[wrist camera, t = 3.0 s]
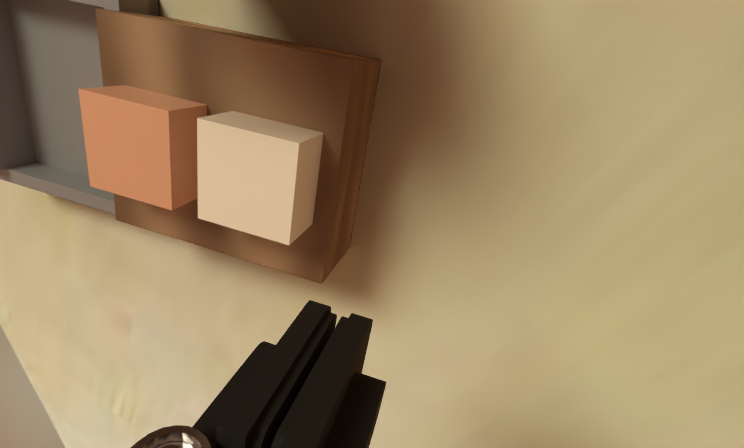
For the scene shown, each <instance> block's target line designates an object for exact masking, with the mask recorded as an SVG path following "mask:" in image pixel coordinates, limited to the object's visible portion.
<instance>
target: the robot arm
mask: <svg viewBox="0 0 744 448" xmlns="http://www.w3.org/2000/svg"><path fill="white" fill-rule="evenodd" d="M336 318H337V315H336V314H333V313H331V307H330V306H327V305H324V304H321V303H317V302H314V301H311V300H310V301H308V303H307V304H306V305H305V306H304V308H303V309H302V311H301V312H300V313H299V315H298V316H297V317H296V319H295V320H294V321H293V323H292V324H291V325H290V327H289V328H288V329H287V331H286V332H285V334H284V335H283V336H282V338H281V339H280V340H279V342H278V343H277V344H276V345H274V344H271V343H268V342H265V341H264V342H262V343H260V344H259V345H258V346H257V347H256V348H255V350H254V351H253V352H252V353H251V355H250V356H249V357H248V358H247V360H246V361H245V362H244V363H243V365H242V366H241V367H240V368H239V370H238V371H237V372H236V373H235V375H234V376H233V377H232V378H231V380H230V381H229V382H228V383H227V385H226V386H225V387H224V388H223V390H222V391H221V392H220V393H219V395H218V396H217V397H216V398H215V400H214V401H213V402H212V403H211V405H210V406H209V407H208V408H207V410H206V411H205V412H204V413H203V415H202V416H201V417H200V418H199V420H198V421H197V422H196V423H195V424H194V426H193V427H189V426H177V425H176V426H170V427H165V428H161V429H159V430H157V431H154V432H152V433H150V434H148V435H147V436H145V437H144V438H142V439H141V440H140V441H138V442H137V443H136V444H135V445H133V446H132V447H131V448H369V445H370V441H371V438H372V434H373V431H374V427H375V424H376V420H377V417H378V413H379V409H380V405H381V402H382V398H383V394H384V390H385V386H386V382H385V381H382V380H379V379H376V378H373V377H370V376H367V375H364V374H361V373H362V369H363V364H364V360H365V355H366V350H367V346H368V341H369V337H370V332H371V327H372V322H373V320H372V319H369V318H366V317H363V316H359V315H356V314H353V313H352V314H351V315H350V317H349V318H346V317H343V316H342V317H341V319H340V321H339V322H338V324H337V326H336V328H335V325H336Z"/></svg>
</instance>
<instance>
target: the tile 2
mask: <svg viewBox="0 0 744 448" xmlns="http://www.w3.org/2000/svg"><path fill="white" fill-rule="evenodd" d="M323 134H324V133H322V132H318V131H314V130H310V129H306V128H302V127H297V126H293V125H289V124H285V123H281V122H277V121H272V120H268V119H264V118H260V117H256V116H252V115H248V114H243V113H239V112H235V111H230V112H225V113H220V114H215V115H210V116H205V117H200V118H197V171H198V218H199V219H202V220H205V221H209V222H212V223H215V224H219V225H222V226H226V227H229V228H232V229H236V230H239V231H242V232H246V233H249V234H252V235H256V236H259V237H262V238H266V239H269V240H273V241H276V242H279V243H283V244H286V245H290V244H291V243H292V242H293V241H294V240H296V239H297V238H298V237H299V236H300V235H301V234H302V233H303V232H304V231H305V230H307V229H308V228H309V227H310V226H311V225H312V223H313V214H314V206H315V198H316V190H317V182H318V174H319V166H320V158H321V150H322V142H323Z"/></svg>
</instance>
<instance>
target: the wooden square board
mask: <svg viewBox="0 0 744 448" xmlns="http://www.w3.org/2000/svg"><path fill="white" fill-rule="evenodd" d="M95 10H96V20H97V30H98V40H99V50H100V61H101V71H102V81H103V87H106V86H120V85H127V86H131V87H135V88H140V89H144V90H148V91H152V92H156V93H160V94H164V95H169V96H173V97H177V98H181V99H185V100H189V101H194V102H198V103H202V104H206V105H207V116H210V115H215V114H220V113H225V112H230V111H235V112H239V113H243V114H248V115H252V116H256V117H260V118H264V119H268V120H272V121H277V122H281V123H285V124H289V125H293V126H297V127H302V128H306V129H310V130H314V131H318V132H322V133H324V134H323V142H322V150H321V158H320V166H319V174H318V182H317V190H316V198H315V206H314V214H313V223H312V225H311V226H310V227H309V228H308V229H307V230H305V231H304V232H303V233H302V234H301V235H300V236H299V237H298V238H297V239H296V240H294V241H293V242H292V243H291V244H290V245H286V244H283V243H279V242H276V241H273V240H269V239H266V238H262V237H259V236H256V235H252V234H249V233H246V232H242V231H239V230H236V229H232V228H229V227H226V226H222V225H219V224H215V223H212V222H209V221H205V220H202V219H199V218H198V198H197V199H195V200H193V201H191V202H189V203H187V204H185V205H183V206H180V207H178V208H176V209H174V210H168V209H165V208H162V207H158V206H155V205H152V204H148V203H145V202H142V201H138V200H135V199H132V198H128V197H125V196H121V195H118V194H115V193H114V204H115V214H116V220H119V221H122V222H125V223H128V224H131V225H135V226H138V227H141V228H144V229H148V230H151V231H154V232H157V233H160V234H164V235H167V236H170V237H173V238H176V239H180V240H183V241H186V242H189V243H193V244H196V245H199V246H202V247H205V248H209V249H212V250H215V251H218V252H221V253H225V254H228V255H231V256H234V257H238V258H241V259H244V260H247V261H250V262H254V263H257V264H260V265H263V266H267V267H270V268H273V269H276V270H279V271H283V272H286V273H289V274H292V275H295V276H299V277H302V278H305V279H308V280H312V281H315V282H318V283H321V284H322V283H323V281H324V280H325V279H326V277H327V276H328V275H329V273H330V272H331V271H332V270H333V268H334V267H335V266H336V264H337V263H338V262H339V260H340V259H341V258H342V256H343V255H344V254H345V252H346V251H347V250H348V249H349V246H350V241H351V235H352V229H353V223H354V217H355V211H356V205H357V199H358V193H359V188H360V182H361V176H362V170H363V164H364V158H365V152H366V146H367V141H368V135H369V129H370V123H371V117H372V111H373V105H374V99H375V94H376V88H377V82H378V76H379V70H380V64H381V60H376V59H371V58H366V57H361V56H356V55H351V54H346V53H341V52H336V51H331V50H327V49H322V48H317V47H312V46H307V45H302V44H297V43H292V42H287V41H282V40H277V39H272V38H267V37H262V36H257V35H252V34H247V33H242V32H237V31H232V30H227V29H222V28H217V27H212V26H208V25H203V24H198V23H193V22H188V21H183V20H178V19H173V18H168V17H161V16H153V15H146V14H138V13H130V12H122V11H114V10H106V9H98V8H95Z"/></svg>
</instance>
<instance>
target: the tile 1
mask: <svg viewBox="0 0 744 448" xmlns="http://www.w3.org/2000/svg"><path fill="white" fill-rule="evenodd" d="M78 90H79V98H80V107H81V115H82V123H83V131H84V139H85V148H86V156H87V164H88V172H89V180H90V186H91V187H95V188H98V189H101V190H105V191H108V192H111V193H115V194H118V195H121V196H125V197H128V198H132V199H135V200H138V201H142V202H145V203H148V204H152V205H155V206H158V207H162V208H165V209H168V210H174V209H176V208H178V207H180V206H183V205H185V204H187V203H189V202H191V201H193V200H195V199H197V198H198V171H197V118H200V117H205V116H207V105H206V104H202V103H198V102H194V101H189V100H185V99H181V98H177V97H173V96H169V95H164V94H160V93H156V92H152V91H148V90H144V89H140V88H135V87H131V86H127V85H120V86H106V87H92V88H78Z"/></svg>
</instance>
